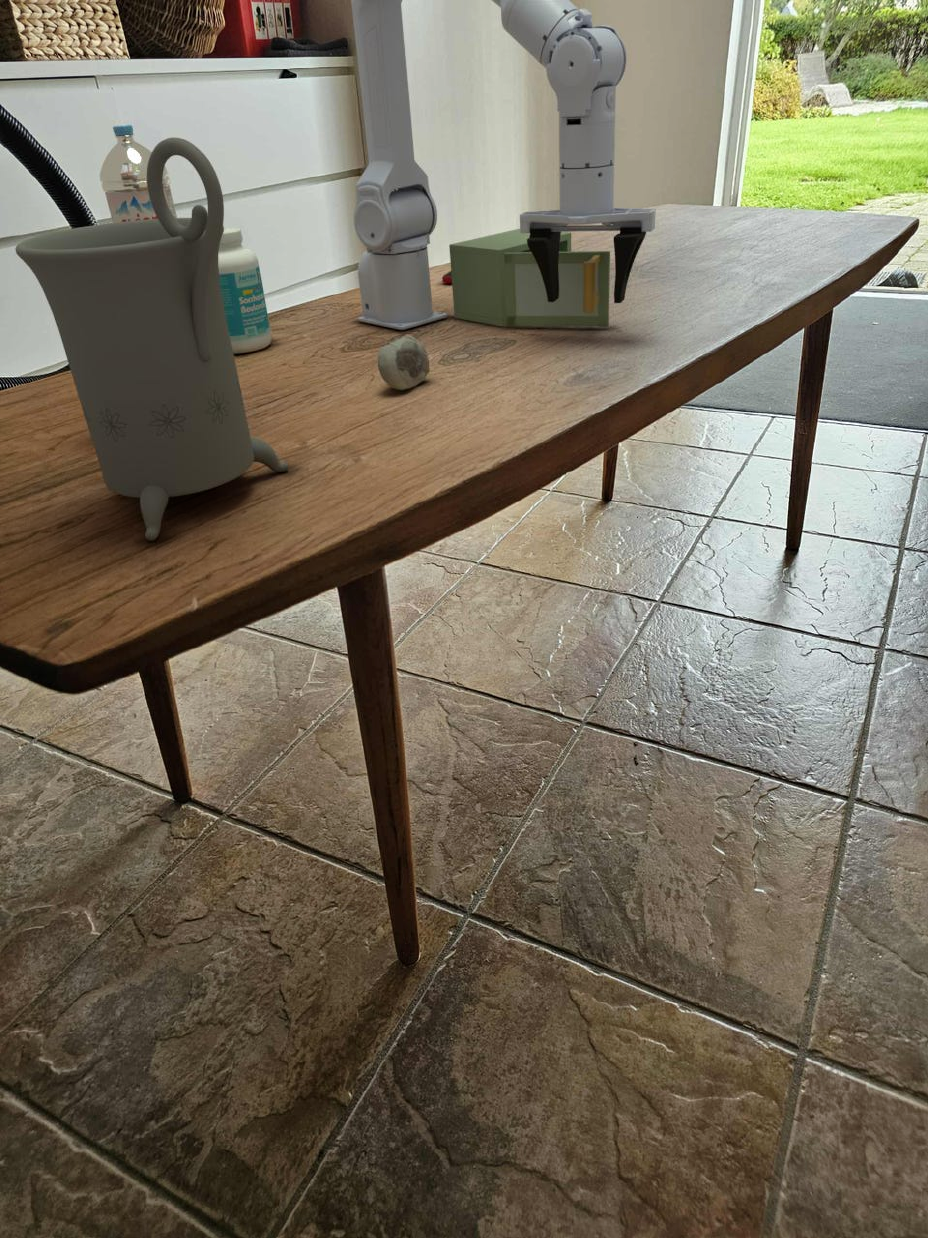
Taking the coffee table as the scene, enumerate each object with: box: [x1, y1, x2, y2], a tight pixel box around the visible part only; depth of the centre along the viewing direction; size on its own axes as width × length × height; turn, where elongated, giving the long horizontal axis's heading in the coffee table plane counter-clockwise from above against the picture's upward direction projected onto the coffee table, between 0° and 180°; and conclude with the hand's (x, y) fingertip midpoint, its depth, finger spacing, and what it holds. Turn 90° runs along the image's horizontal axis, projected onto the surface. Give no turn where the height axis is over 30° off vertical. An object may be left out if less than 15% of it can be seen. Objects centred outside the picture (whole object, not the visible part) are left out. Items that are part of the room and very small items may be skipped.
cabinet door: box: [504, 250, 611, 328], centre depth 102 cm, size 13×5×8 cm, turn 72°
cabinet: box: [448, 228, 572, 328], centre depth 112 cm, size 13×9×9 cm
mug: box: [14, 137, 289, 542], centre depth 63 cm, size 19×15×25 cm
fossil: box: [377, 334, 430, 391], centre depth 89 cm, size 6×3×5 cm, turn 151°
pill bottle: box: [218, 227, 273, 355], centre depth 105 cm, size 8×7×14 cm
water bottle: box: [99, 124, 178, 223], centre depth 94 cm, size 7×7×25 cm
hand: (585, 300), depth 98 cm, fingers open, 7 cm apart
